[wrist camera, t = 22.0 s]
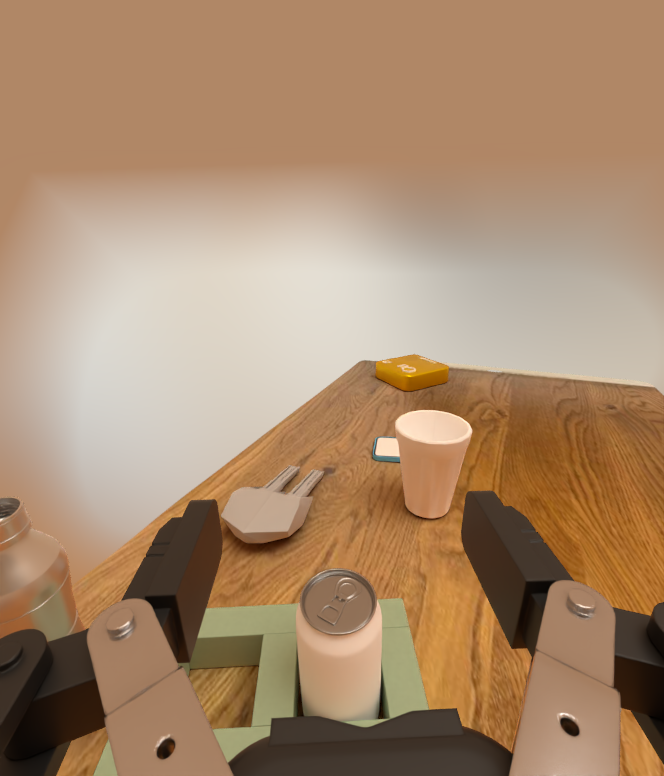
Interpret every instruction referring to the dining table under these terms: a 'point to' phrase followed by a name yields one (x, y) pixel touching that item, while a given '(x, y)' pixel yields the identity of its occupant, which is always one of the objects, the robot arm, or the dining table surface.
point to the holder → (291, 667)
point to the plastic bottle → (33, 578)
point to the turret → (270, 508)
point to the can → (339, 646)
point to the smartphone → (386, 449)
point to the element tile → (412, 372)
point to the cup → (431, 459)
